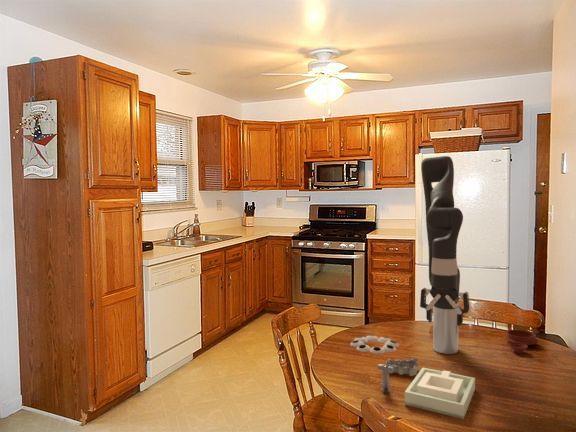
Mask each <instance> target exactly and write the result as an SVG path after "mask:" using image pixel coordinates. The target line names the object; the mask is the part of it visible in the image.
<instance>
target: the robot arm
mask: <svg viewBox="0 0 576 432" xmlns="http://www.w3.org/2000/svg"><path fill="white" fill-rule="evenodd" d="M420 168H421V169H420V170H421V179H422V186H423V193H424V194H423V195H424V204H425V224H426V226H425V227H426V235H427V236H426V237H427V245H428V247H427V248H428V281H429V285H430V286H431V288H427V287H423V288H422V289H421V290H420V303H419V304H420V305H419V306H420V308H421V309H424V310H425V311H426V314H425V315H426V320H427V321H428V323H432V328H433V329H432V349H433V351H435V352H437V353H440V354H444V355H445V354H446V355H453V354H458V352H459V327H460V326H461V325H462V324H463V322H464V314H468V313H469V311H470V295H469V292H468V291H464V292H460V285H461V271H460V269H459V267H458V260H457V246H458V238H459V234H460V230H461V229H462V225H463V221H464V215H463V212H462V210H461V209H460V208H458V207H455V199H454V191H453V190H454V183H455V169H454V162H453V159H452V157H450V156H449V155H442V156H433V157H432V156H431V157H425V158H424V157H423V159H422V160H421V165H420ZM433 183H437V184H435V186H434V187H433V185H432V184H433ZM429 294H430V296H431V297H432V300H431V301H429V304H427V296H428V295H429ZM460 299H461V301H463V302H462V303H463V307H461V305H460V301H459V300H460Z"/></svg>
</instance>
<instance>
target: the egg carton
mask: <svg viewBox="0 0 576 432" xmlns="http://www.w3.org/2000/svg"><path fill="white" fill-rule="evenodd" d="M418 361H419V360H418V358H415V357H413V358H412V357H410V358H408V359H405V358H403V359H399V358H397V359H391V358H387V359H386V361H385V365H388V366H392V367H394V371H393V372H389V374H393V373H396V374H399V375H400V376H401V375H408V376H409V377H413V376H417V375H418V368H419V365H418Z"/></svg>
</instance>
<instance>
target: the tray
mask: <svg viewBox="0 0 576 432" xmlns="http://www.w3.org/2000/svg"><path fill="white" fill-rule="evenodd" d="M426 372H429V373H434V374H439V375H441V374H442V372H443V370H438V369H437V370H436V369H431V368H426V367H421V369H420V371H418V372H417V375H415V377H414V379H413V380H412V381H411V382H410V384H409V385H408V387H407V388H406V389H405V391H404V405H405V406H408V407H409V406H410V407H412V408H413V407H414V408H417V409H422V410H426V411H429V412H433V413H437V414H442V415H445V416H449V417H453V418H456V419H461V420H464V419H465V416H466V414H467V411H468V409H469V406H470V403H471V401H472V398H473V397H474V393H475V391H476V377H472V376H466V375H462V374H458V373H452V372H451V377H453V378H458V379H463V394H462V397H461V399H460V401H459V403H458V402H454V401H450V400H445V399H441V398H437V397H432V396H428V395H424V394H419V393H417V385H418V383H419V382H420V380H421V379H422V378H423V376H424V375H425V373H426Z"/></svg>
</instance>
